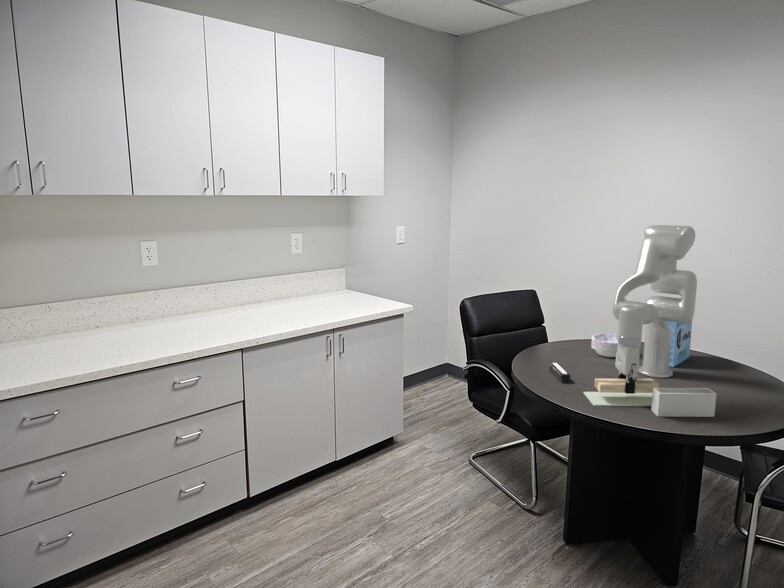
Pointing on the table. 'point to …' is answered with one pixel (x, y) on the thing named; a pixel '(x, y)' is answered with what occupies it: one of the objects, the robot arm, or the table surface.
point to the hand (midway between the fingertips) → (626, 389)
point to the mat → (619, 399)
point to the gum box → (679, 342)
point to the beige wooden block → (619, 385)
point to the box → (683, 402)
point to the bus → (559, 373)
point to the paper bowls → (605, 344)
